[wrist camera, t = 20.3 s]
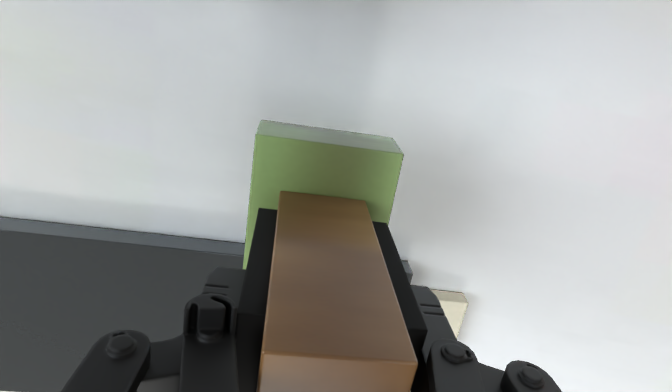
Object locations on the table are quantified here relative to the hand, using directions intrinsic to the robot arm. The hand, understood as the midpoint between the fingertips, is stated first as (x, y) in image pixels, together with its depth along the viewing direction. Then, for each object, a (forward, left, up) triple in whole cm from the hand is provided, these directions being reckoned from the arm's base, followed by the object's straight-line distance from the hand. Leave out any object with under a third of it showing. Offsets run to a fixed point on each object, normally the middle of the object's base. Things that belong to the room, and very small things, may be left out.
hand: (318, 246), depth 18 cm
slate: (-2, -13, -9) cm, 16 cm away
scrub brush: (0, 0, -4) cm, 4 cm away
